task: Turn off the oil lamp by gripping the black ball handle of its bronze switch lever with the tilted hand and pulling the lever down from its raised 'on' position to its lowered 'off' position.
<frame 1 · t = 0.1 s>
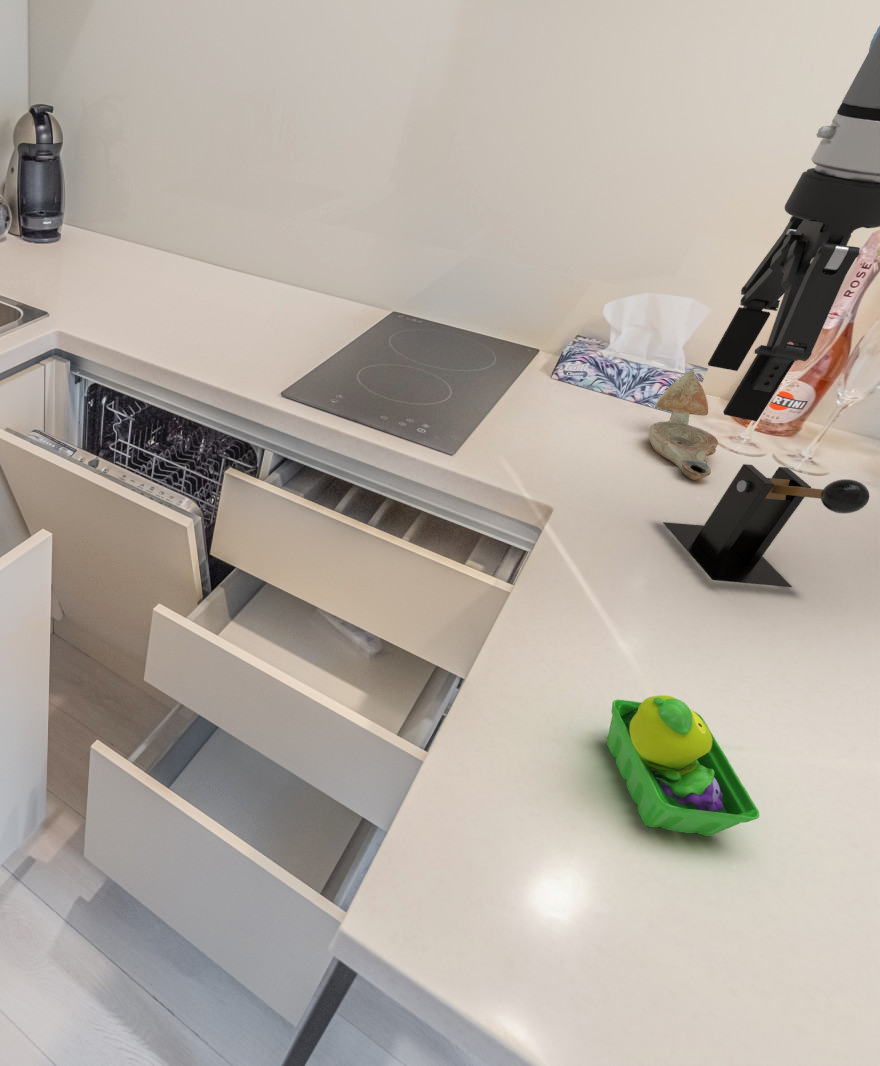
hand: (730, 390, 80), 24 cm above the countertop, tool pointing down, fingers open, 13 cm apart
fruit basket: (645, 789, 69), on the countertop
switch bracket: (718, 560, 96), on the countertop
oil lamp: (673, 457, 117), on the countertop
switch lever: (805, 492, 84), point 13 cm above the countertop, hinge at 28.0°
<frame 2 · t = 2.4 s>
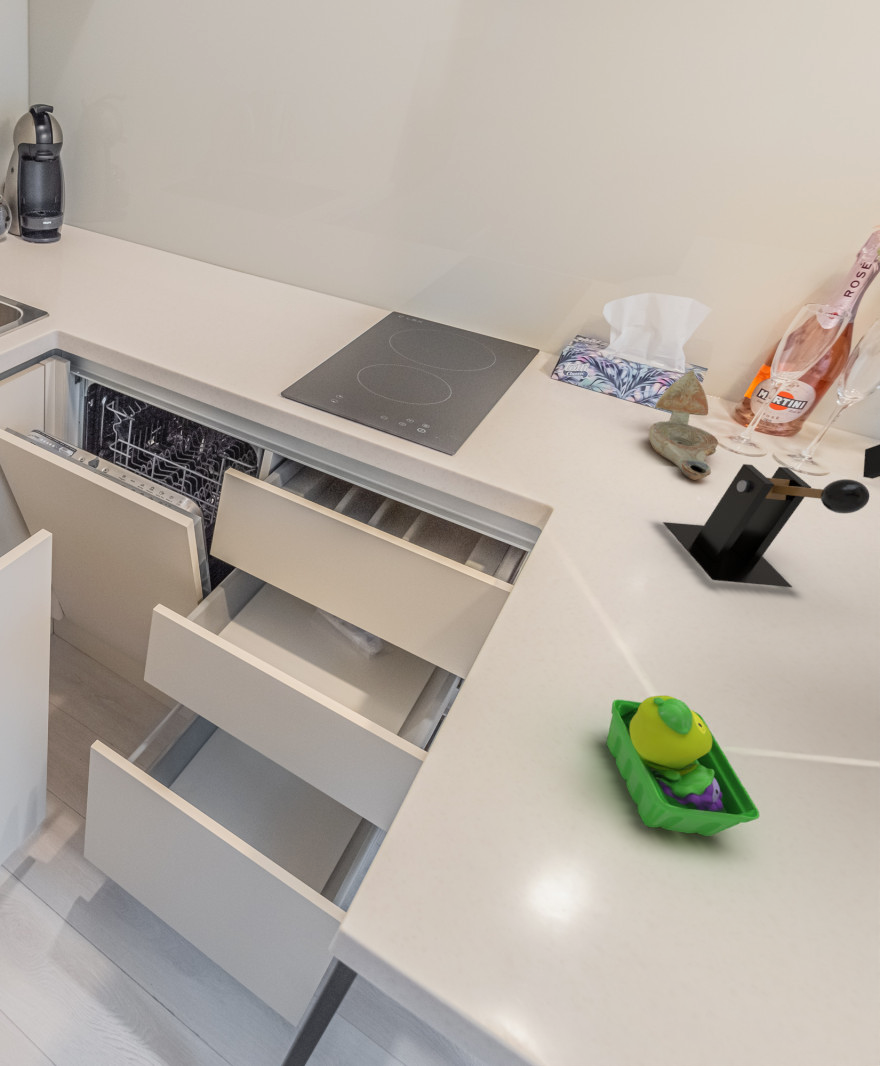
nothing on the countertop moved.
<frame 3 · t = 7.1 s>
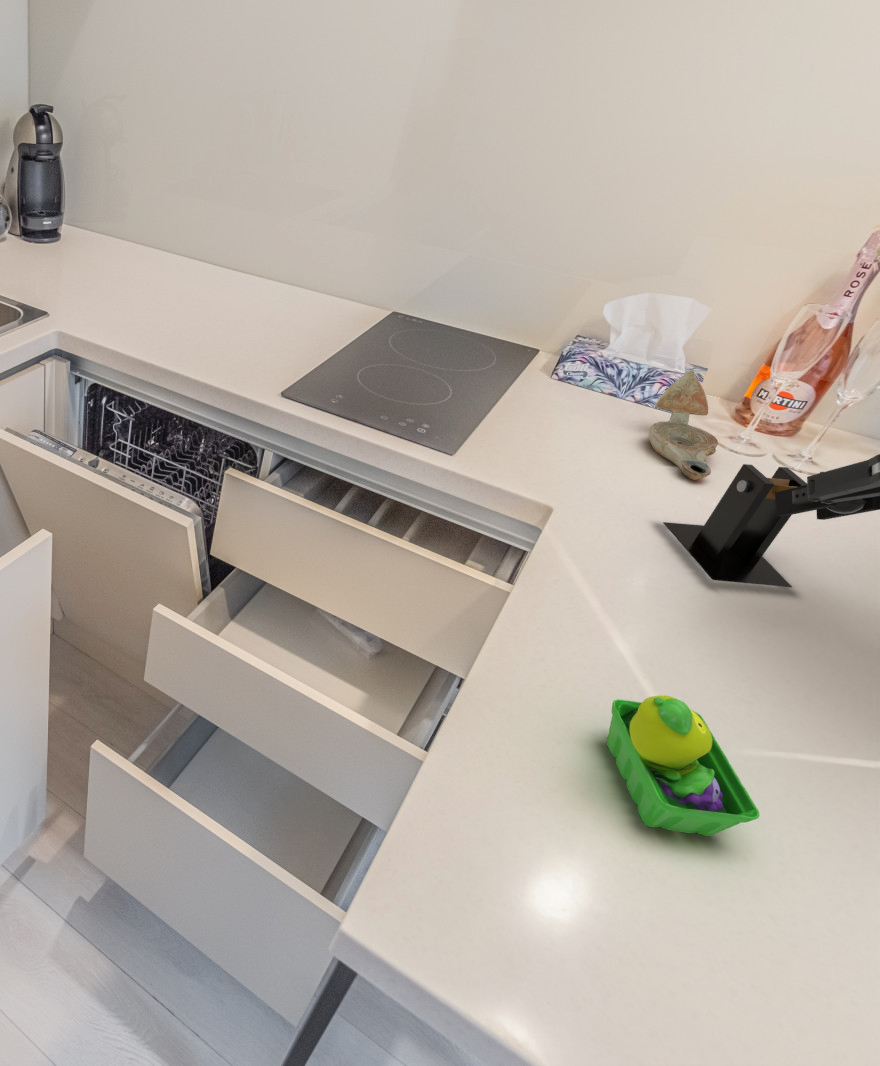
hand: (799, 505, 85), 12 cm above the countertop, tool tilted 45°, fingers closed on switch lever, 4 cm apart
switch lever: (805, 492, 84), point 13 cm above the countertop, hinge at 28.0°, touching gripper
everything else where it was.
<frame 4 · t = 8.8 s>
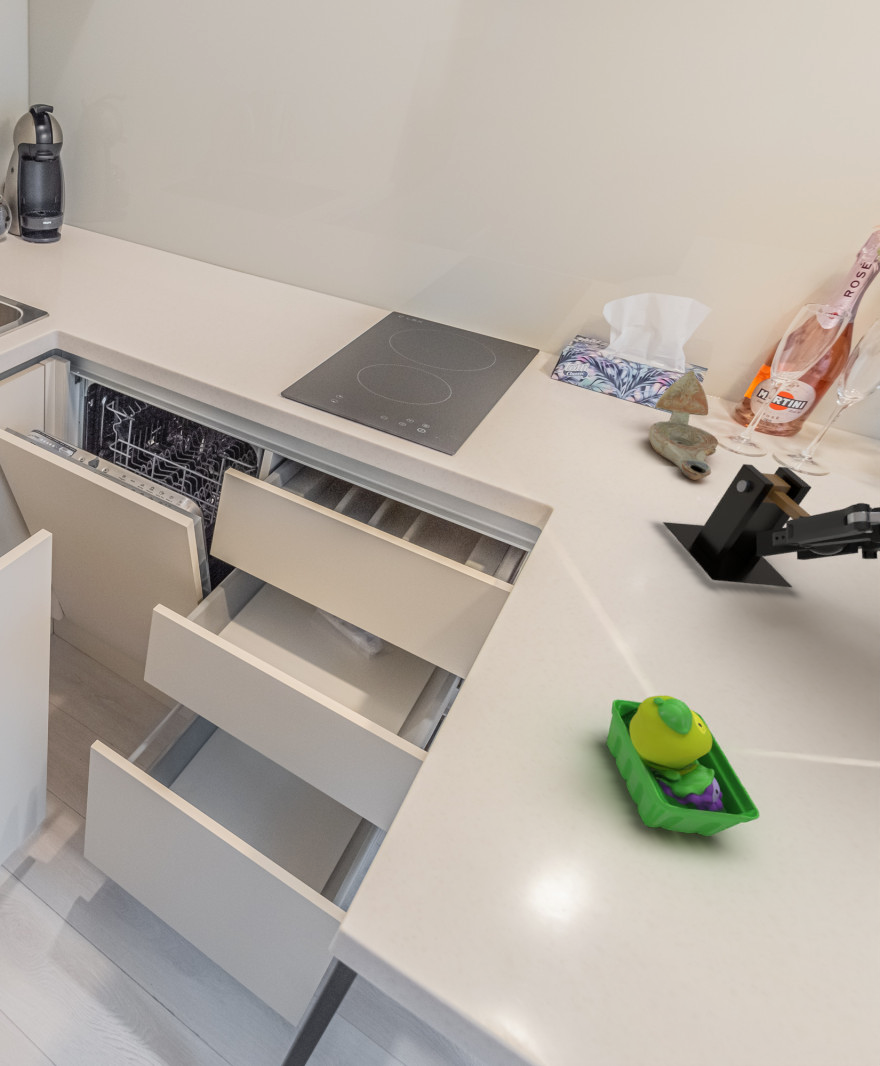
hand: (780, 546, 87), 7 cm above the countertop, tool tilted 45°, fingers closed on switch lever, 4 cm apart
switch lever: (796, 512, 85), point 11 cm above the countertop, hinge at 0.5°, touching gripper
everything else where it was.
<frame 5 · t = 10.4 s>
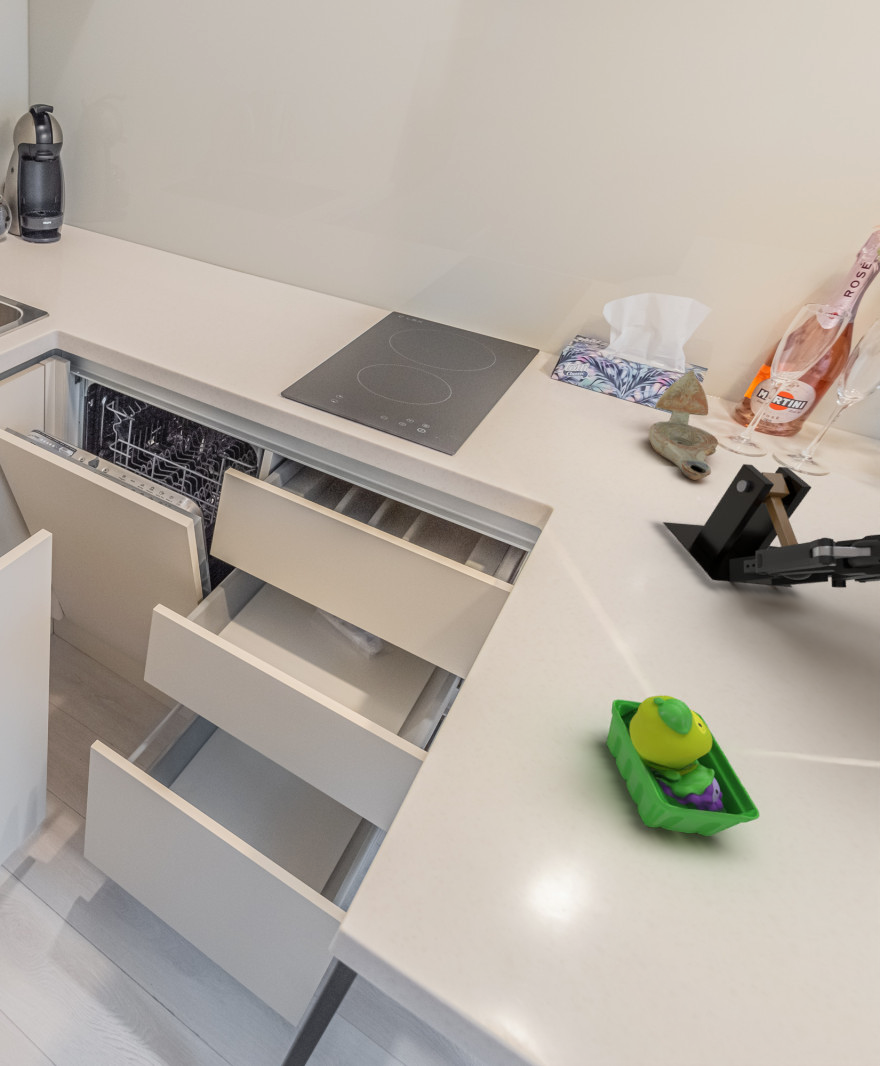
hand: (754, 572, 90), 2 cm above the countertop, tool tilted 45°, fingers open, 4 cm apart
switch lever: (782, 526, 87), point 9 cm above the countertop, hinge at -24.7°
everything else where it was.
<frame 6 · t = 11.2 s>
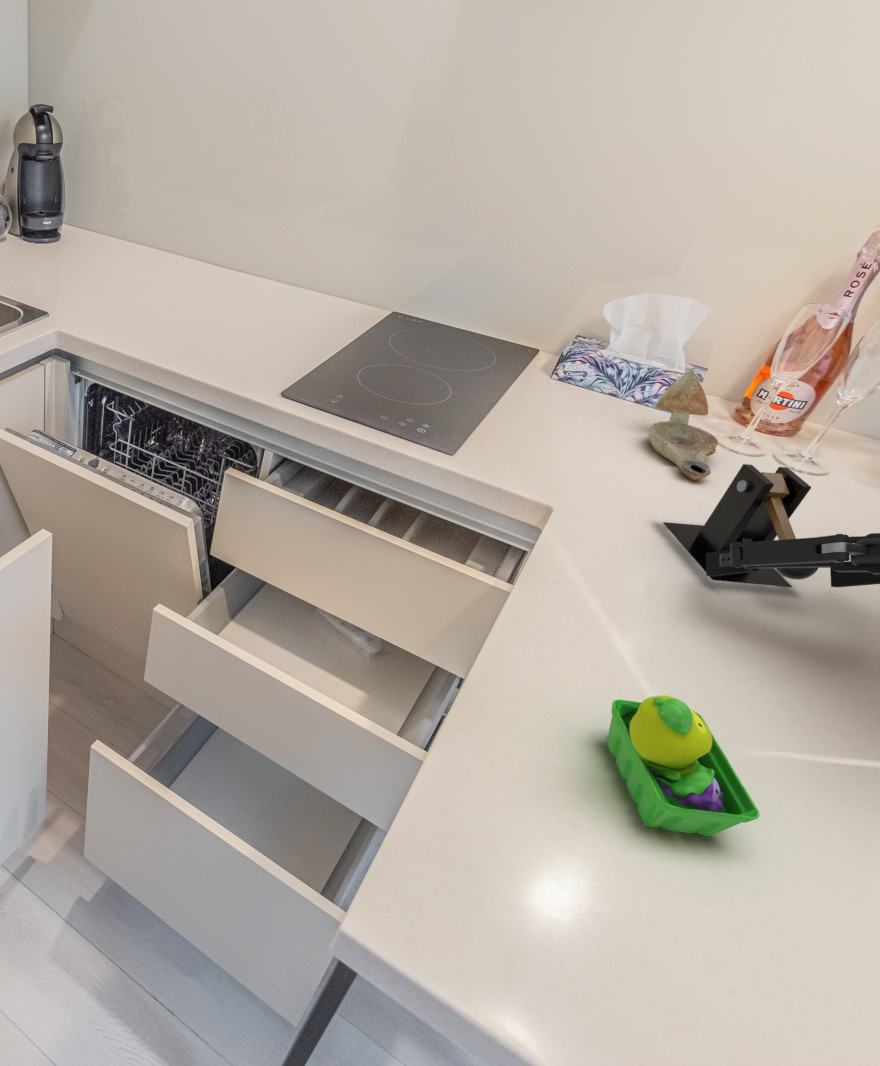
hand: (771, 570, 88), 4 cm above the countertop, tool tilted 45°, fingers open, 13 cm apart
nothing on the countertop moved.
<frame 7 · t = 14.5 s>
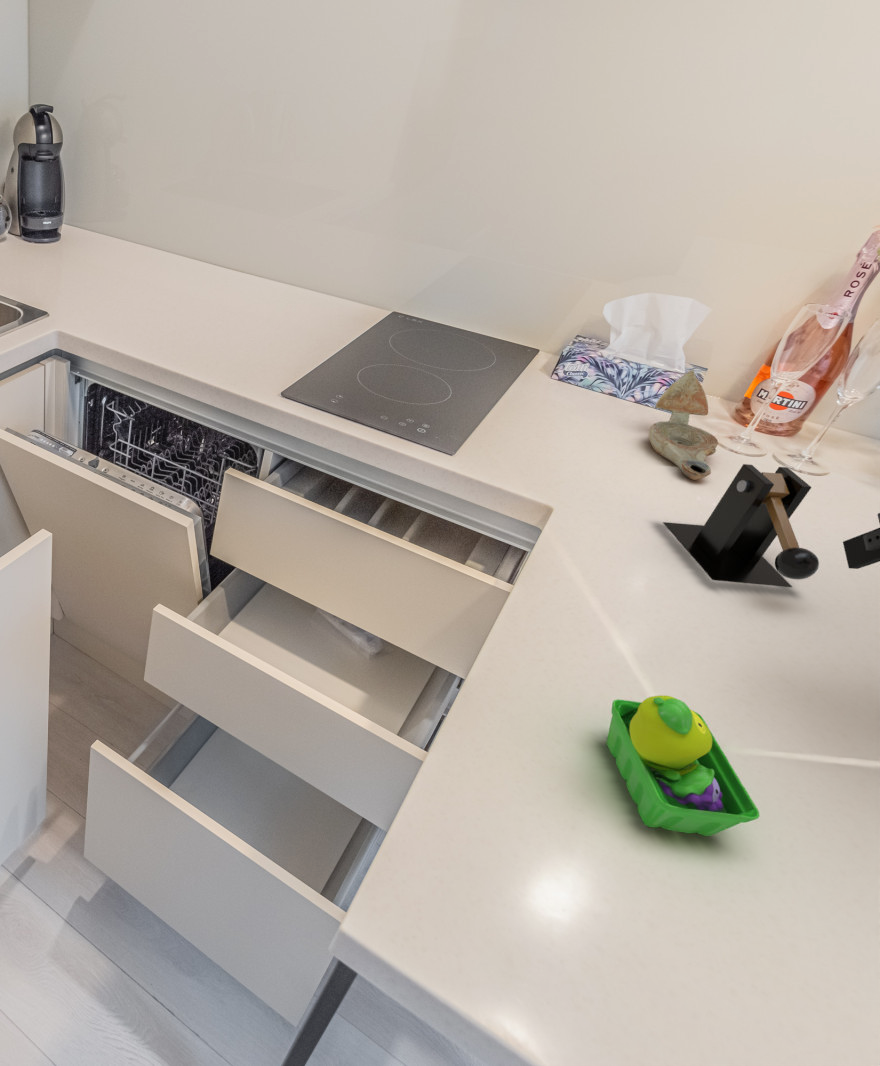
nothing on the countertop moved.
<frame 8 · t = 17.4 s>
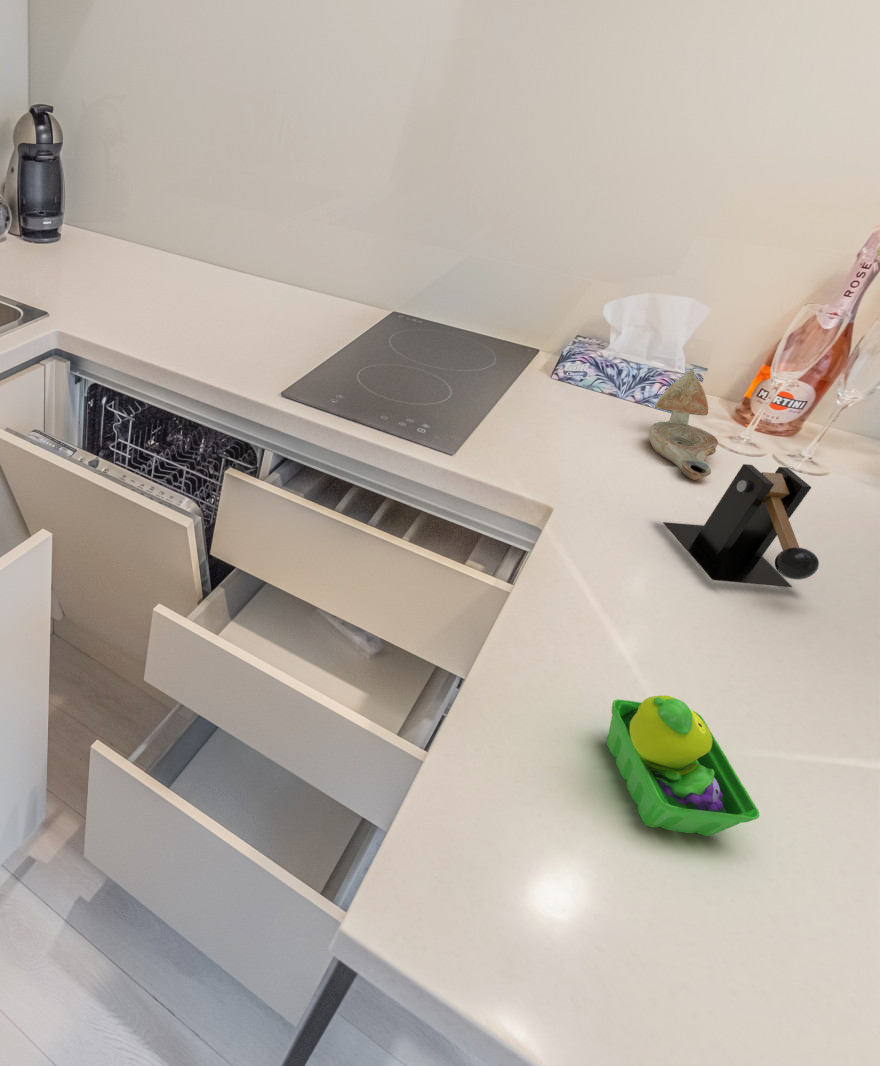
nothing on the countertop moved.
at the end: switch lever at -25° (first picture: +28°); oil lamp moved 0.2 cm from its start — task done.
